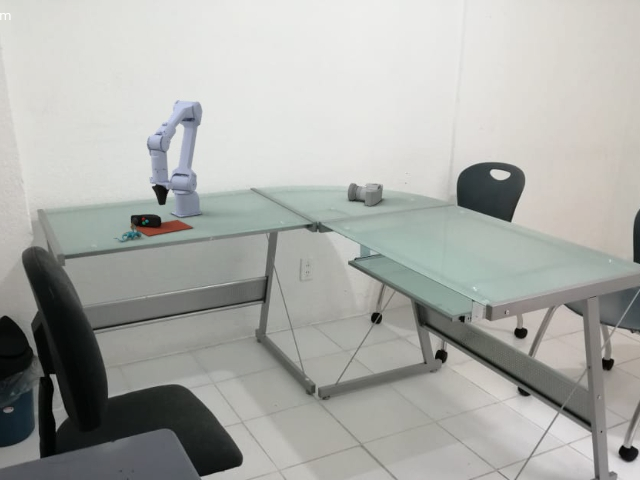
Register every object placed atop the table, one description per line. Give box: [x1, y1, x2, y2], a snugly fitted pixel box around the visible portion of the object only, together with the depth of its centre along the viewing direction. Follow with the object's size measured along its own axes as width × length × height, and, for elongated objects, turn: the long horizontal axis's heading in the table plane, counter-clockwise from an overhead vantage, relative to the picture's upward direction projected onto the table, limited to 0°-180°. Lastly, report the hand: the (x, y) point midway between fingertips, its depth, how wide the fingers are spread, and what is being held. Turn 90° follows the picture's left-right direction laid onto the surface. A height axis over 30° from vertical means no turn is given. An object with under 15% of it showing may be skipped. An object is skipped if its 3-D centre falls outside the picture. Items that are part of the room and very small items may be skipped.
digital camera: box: [347, 182, 384, 207], centre depth 270 cm, size 17×14×10 cm
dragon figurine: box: [113, 222, 143, 243], centre depth 212 cm, size 6×7×8 cm
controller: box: [130, 213, 162, 227], centre depth 227 cm, size 4×12×10 cm
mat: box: [134, 219, 194, 237], centre depth 226 cm, size 18×12×1 cm, turn 128°
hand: (162, 204), depth 227 cm, fingers closed
